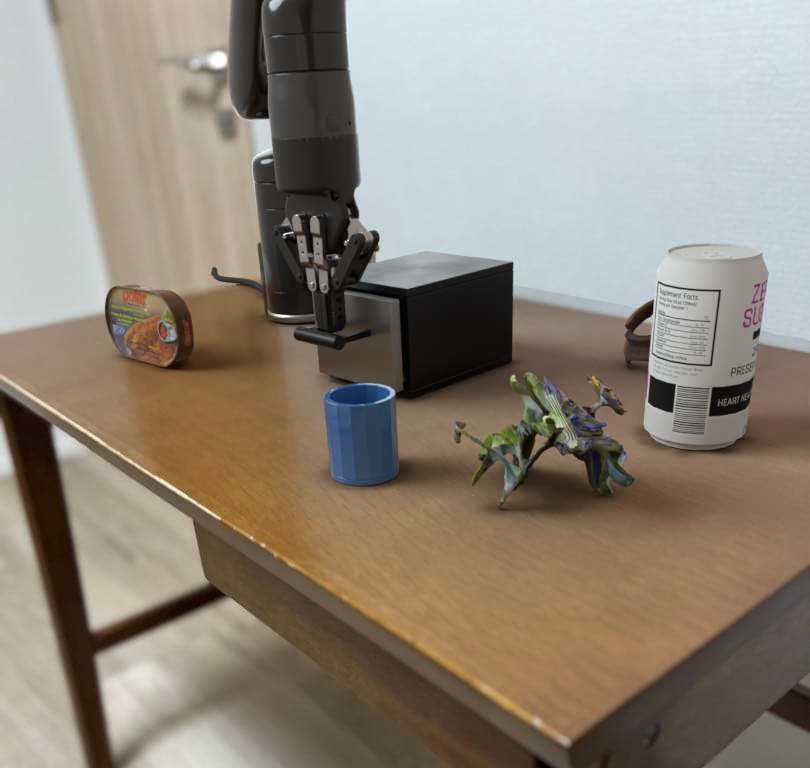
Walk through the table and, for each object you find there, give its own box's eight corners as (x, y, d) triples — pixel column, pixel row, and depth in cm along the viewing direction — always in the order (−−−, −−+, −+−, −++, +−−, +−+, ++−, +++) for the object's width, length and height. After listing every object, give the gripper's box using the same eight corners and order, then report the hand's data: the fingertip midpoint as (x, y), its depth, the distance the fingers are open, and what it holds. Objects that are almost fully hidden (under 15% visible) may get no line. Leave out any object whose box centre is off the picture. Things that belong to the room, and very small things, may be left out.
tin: (109, 352, 106) (95, 282, 103) (132, 347, 108) (119, 277, 105) (180, 373, 97) (168, 297, 93) (204, 367, 99) (192, 291, 95)
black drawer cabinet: (412, 399, 86) (407, 289, 81) (328, 376, 94) (319, 274, 89) (512, 362, 95) (513, 261, 90) (428, 343, 103) (425, 250, 98)
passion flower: (591, 557, 67) (681, 466, 58) (466, 565, 63) (541, 469, 53) (544, 438, 72) (620, 337, 63) (425, 438, 68) (488, 330, 58)
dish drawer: (357, 406, 82) (350, 312, 78) (282, 384, 89) (272, 296, 85) (491, 358, 94) (491, 274, 90) (415, 342, 101) (412, 263, 97)
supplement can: (633, 419, 78) (648, 244, 71) (728, 417, 77) (751, 240, 71) (653, 454, 71) (672, 263, 64) (757, 451, 70) (787, 258, 63)
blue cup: (317, 473, 70) (309, 396, 67) (367, 453, 74) (361, 378, 71) (363, 492, 67) (357, 411, 64) (413, 469, 70) (410, 391, 67)
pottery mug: (738, 382, 87) (712, 316, 83) (647, 419, 91) (617, 358, 86) (714, 322, 96) (689, 259, 91) (631, 358, 100) (604, 300, 95)
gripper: (399, 127, 74) (408, 332, 82) (299, 129, 82) (317, 314, 90) (332, 134, 69) (349, 350, 77) (234, 134, 78) (258, 329, 86)
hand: (331, 330), depth 84 cm, fingers closed
